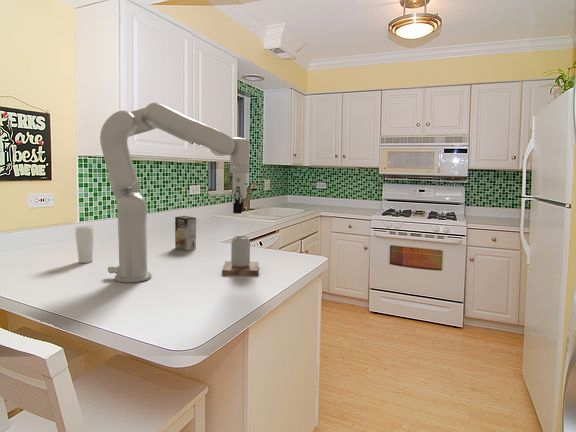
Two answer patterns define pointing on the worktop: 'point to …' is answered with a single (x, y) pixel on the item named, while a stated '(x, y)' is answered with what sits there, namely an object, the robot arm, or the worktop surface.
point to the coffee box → (185, 232)
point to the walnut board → (240, 269)
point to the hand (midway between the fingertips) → (238, 211)
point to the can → (240, 251)
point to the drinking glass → (85, 243)
